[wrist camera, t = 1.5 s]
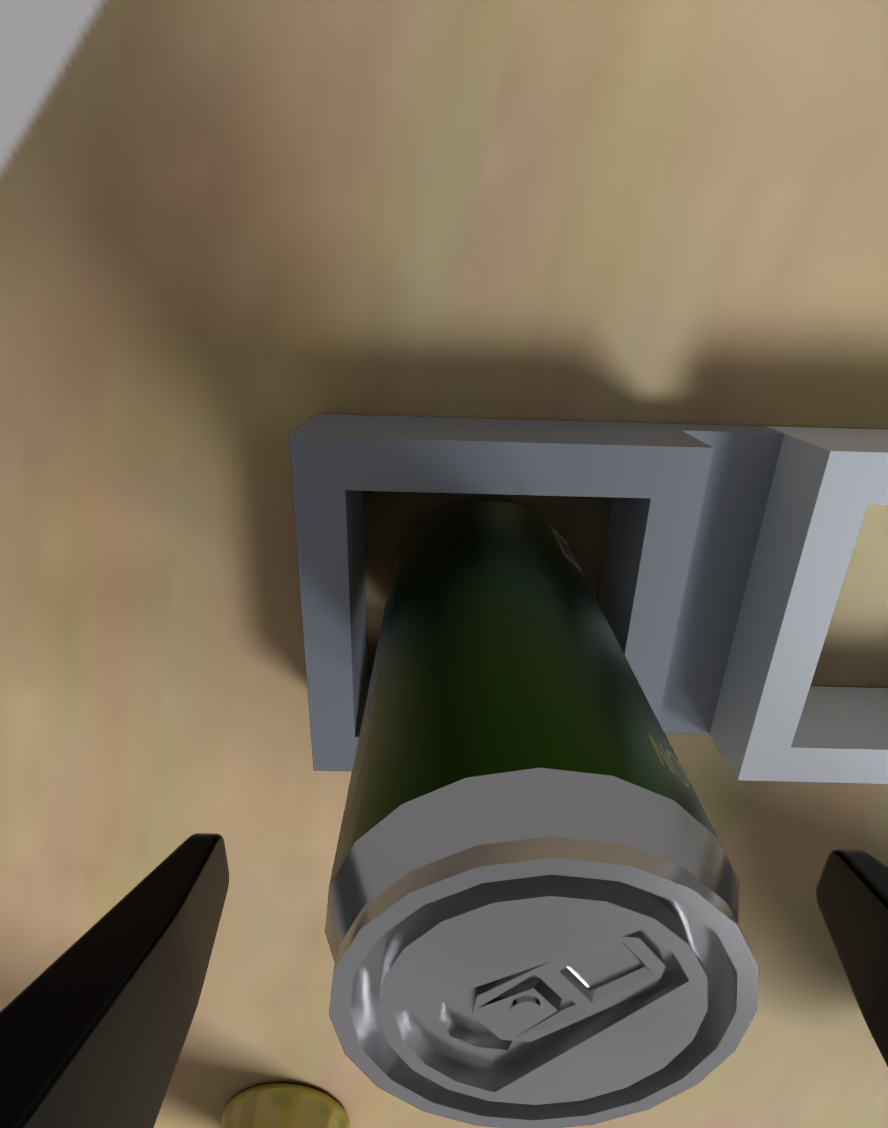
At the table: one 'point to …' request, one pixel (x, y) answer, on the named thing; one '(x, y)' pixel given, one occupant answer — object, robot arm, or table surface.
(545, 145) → the table surface
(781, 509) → the grey double square frame
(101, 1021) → the robot arm
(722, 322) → the table surface
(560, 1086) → the beer can
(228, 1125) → the vase
